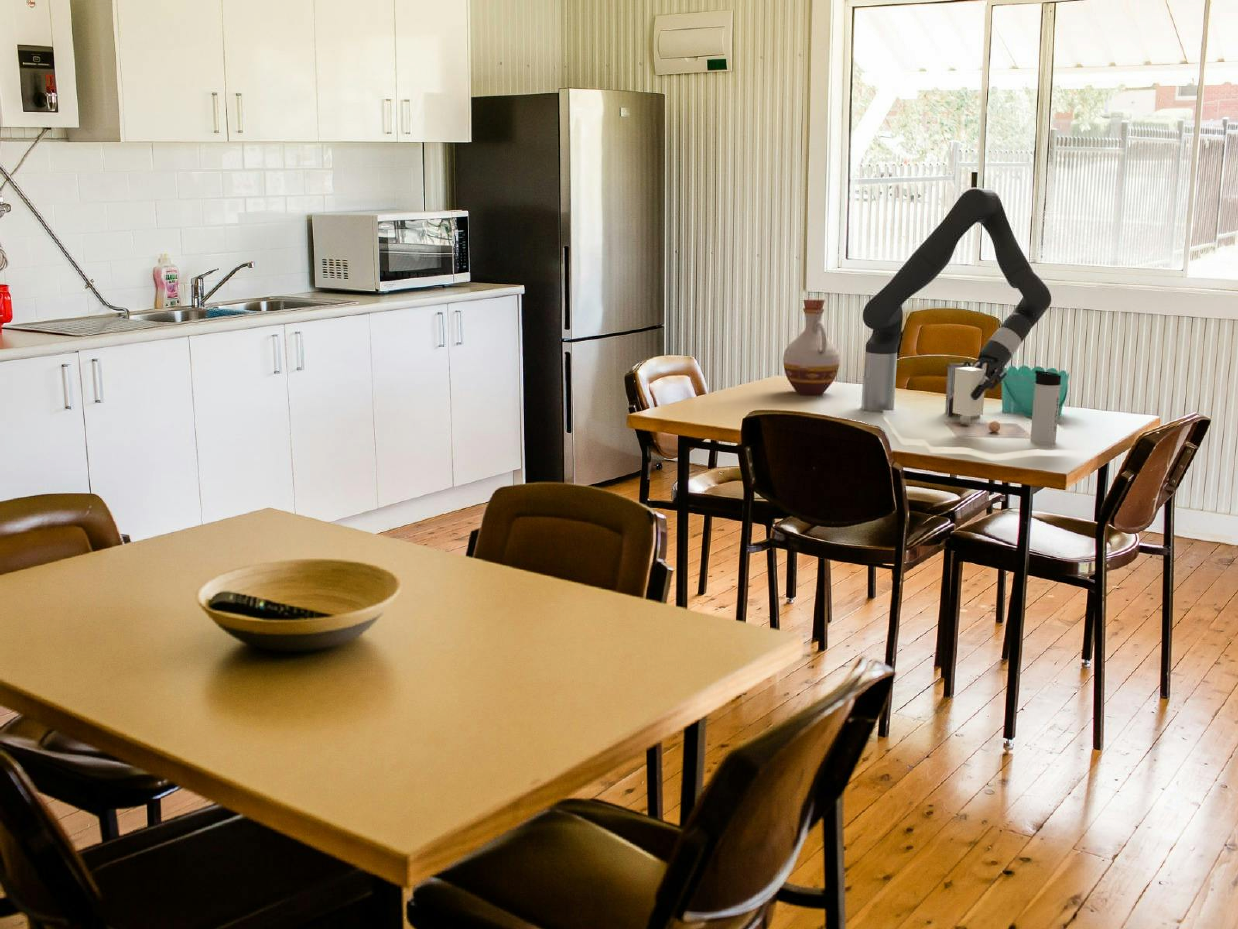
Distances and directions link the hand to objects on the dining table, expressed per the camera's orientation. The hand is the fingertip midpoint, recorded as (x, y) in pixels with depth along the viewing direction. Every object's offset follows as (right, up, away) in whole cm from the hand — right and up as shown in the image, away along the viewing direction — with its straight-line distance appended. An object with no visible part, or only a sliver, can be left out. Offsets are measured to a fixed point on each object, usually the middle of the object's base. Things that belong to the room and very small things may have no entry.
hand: (964, 395), depth 342 cm
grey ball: (+4, -7, +15) cm, 17 cm away
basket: (+31, -3, +42) cm, 52 cm away
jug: (-30, +4, +70) cm, 76 cm away
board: (+9, -10, +9) cm, 16 cm away
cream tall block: (+1, -5, +2) cm, 5 cm away
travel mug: (+19, -14, -5) cm, 24 cm away
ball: (+10, -9, +6) cm, 14 cm away
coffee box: (+7, -6, +30) cm, 31 cm away
